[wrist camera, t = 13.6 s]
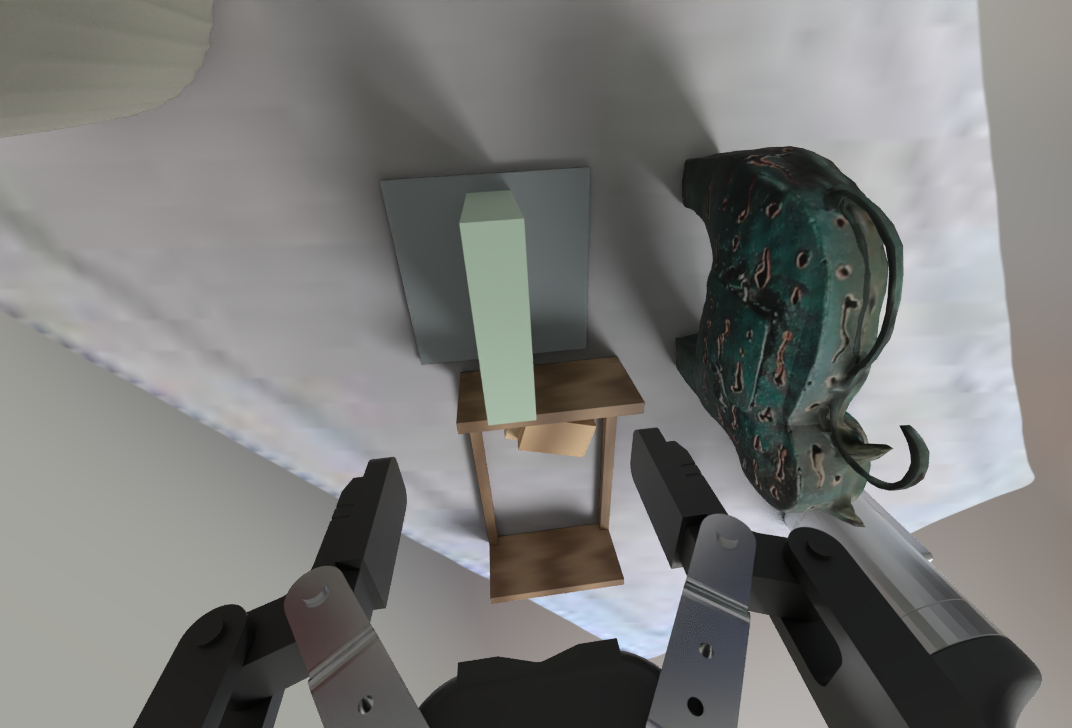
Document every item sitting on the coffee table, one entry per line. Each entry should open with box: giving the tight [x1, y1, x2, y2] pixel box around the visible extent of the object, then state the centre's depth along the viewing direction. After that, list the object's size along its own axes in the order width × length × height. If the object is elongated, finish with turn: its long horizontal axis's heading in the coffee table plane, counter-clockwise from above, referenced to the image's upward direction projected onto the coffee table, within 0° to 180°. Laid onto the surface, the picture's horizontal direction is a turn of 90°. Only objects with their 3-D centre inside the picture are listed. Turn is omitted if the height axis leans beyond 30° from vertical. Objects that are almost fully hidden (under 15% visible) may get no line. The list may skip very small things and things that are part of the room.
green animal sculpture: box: [676, 146, 929, 527], centre depth 24 cm, size 20×6×20 cm, turn 9°
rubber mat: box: [379, 167, 590, 365], centre depth 30 cm, size 14×14×1 cm
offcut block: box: [504, 419, 596, 457], centre depth 36 cm, size 8×4×4 cm, turn 75°
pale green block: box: [459, 190, 536, 426], centre depth 26 cm, size 3×12×10 cm, turn 3°
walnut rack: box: [456, 357, 645, 604], centre depth 38 cm, size 14×24×7 cm, turn 3°
